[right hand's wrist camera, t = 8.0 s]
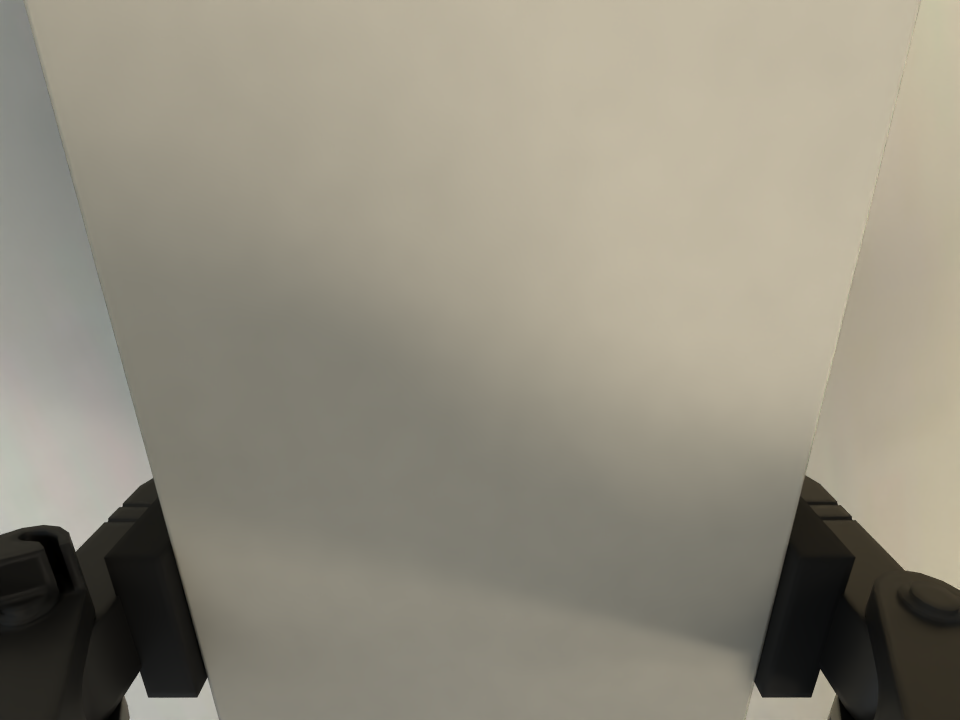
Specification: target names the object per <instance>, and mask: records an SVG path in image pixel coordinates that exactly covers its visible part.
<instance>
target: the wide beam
mask: <svg viewBox="0 0 960 720" xmlns="http://www.w3.org/2000/svg"><path fill="white" fill-rule="evenodd" d="M23 1H24V4H25V8H26V12H27V15H28V19H29V23H30V26H31V30H32V34H33V37H34V41H35V45H36V48H37V52H38V56H39V59H40V63H41V67H42V70H43V74H44V78H45V82H46V85H47V89H48V93H49V96H50V100H51V104H52V107H53V111H54V115H55V118H56V122H57V126H58V129H59V133H60V137H61V140H62V144H63V148H64V151H65V155H66V159H67V162H68V166H69V170H70V173H71V177H72V181H73V184H74V188H75V192H76V195H77V199H78V203H79V206H80V210H81V214H82V217H83V221H84V225H85V228H86V232H87V236H88V239H89V243H90V247H91V251H92V254H93V258H94V262H95V265H96V269H97V273H98V276H99V280H100V284H101V287H102V291H103V295H104V298H105V302H106V306H107V309H108V313H109V317H110V320H111V324H112V328H113V331H114V335H115V339H116V342H117V346H118V350H119V353H120V357H121V361H122V364H123V368H124V372H125V375H126V379H127V383H128V386H129V390H130V394H131V397H132V401H133V405H134V408H135V412H136V416H137V419H138V423H139V427H140V431H141V434H142V438H143V442H144V445H145V449H146V453H147V456H148V460H149V464H150V467H151V471H152V475H153V478H154V482H155V486H156V489H157V493H158V497H159V500H160V504H161V508H162V511H163V515H164V519H165V522H166V526H167V530H168V533H169V537H170V541H171V544H172V548H173V552H174V555H175V559H176V563H177V566H178V570H179V574H180V577H181V581H182V585H183V588H184V592H185V596H186V600H187V603H188V607H189V611H190V614H191V618H192V622H193V625H194V629H195V633H196V636H197V640H198V644H199V647H200V651H201V655H202V658H203V662H204V666H205V669H206V673H207V677H208V680H209V684H210V688H211V691H212V695H213V699H214V702H215V706H216V710H217V713H218V717H219V720H745V719H746V714H747V710H748V706H749V702H750V698H751V694H752V690H753V686H754V682H755V678H756V674H757V669H758V665H759V661H760V657H761V653H762V649H763V645H764V641H765V637H766V633H767V629H768V624H769V620H770V616H771V612H772V608H773V604H774V600H775V596H776V592H777V588H778V584H779V579H780V575H781V571H782V567H783V563H784V559H785V555H786V551H787V547H788V543H789V539H790V535H791V530H792V526H793V522H794V518H795V514H796V510H797V506H798V502H799V498H800V494H801V490H802V485H803V481H804V477H805V473H806V469H807V465H808V461H809V457H810V453H811V449H812V445H813V440H814V436H815V432H816V428H817V424H818V420H819V416H820V412H821V408H822V404H823V400H824V395H825V391H826V387H827V383H828V379H829V375H830V371H831V367H832V363H833V359H834V355H835V350H836V346H837V342H838V338H839V334H840V330H841V326H842V322H843V318H844V314H845V310H846V305H847V301H848V297H849V293H850V289H851V285H852V281H853V277H854V273H855V269H856V265H857V260H858V256H859V252H860V248H861V244H862V240H863V236H864V232H865V228H866V224H867V220H868V216H869V211H870V207H871V203H872V199H873V195H874V191H875V187H876V183H877V179H878V175H879V171H880V166H881V162H882V158H883V154H884V150H885V146H886V142H887V138H888V134H889V130H890V126H891V121H892V117H893V113H894V109H895V105H896V101H897V97H898V93H899V89H900V85H901V81H902V76H903V72H904V68H905V64H906V60H907V56H908V52H909V48H910V44H911V40H912V36H913V31H914V27H915V23H916V19H917V15H918V11H919V7H920V3H921V0H23Z"/></svg>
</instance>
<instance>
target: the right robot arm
mask: <svg viewBox="0 0 960 720" xmlns="http://www.w3.org/2000/svg"><path fill="white" fill-rule="evenodd" d="M820 669H821V671H822V672H823V674H824V675H825V677H826V679H827V680H828V682H829V683H830V685H831V686H832V688H833V689H834V691H835V693H836V696H835V699H834V702H833V705H832V708H831V711H830V714H829V717H828V720H960V590H958V589H956V588H955V587H953V586H951V585H949V584H947V583H945V582H944V581H941V580H939V579H936V578H933V577H930V576H927V575H924V574H922V573H917V572H911V571H905V570H904V569H903V568H902V567H901V566H900V565H899V564H898V563H897V562H896V561H895V560H894V559H893V558H892V557H891V556H890V555H889V554H888V553H887V552H886V551H885V550H884V549H883V548H882V547H881V546H880V545H879V544H878V543H877V542H876V541H875V540H874V539H873V538H872V537H871V536H870V535H869V534H868V533H867V531H866V530H865V529H864V528H863V527H862V526H861V525H860V524H859V523H858V522H857V521H856V520H852V516H851V515H850V514H849V513H848V512H847V511H846V510H845V509H844V508H843V507H842V506H841V505H838V504H837V501H836V500H835V499H834V498H833V497H832V496H831V495H830V494H829V493H828V492H827V491H826V490H825V489H824V488H823V487H822V486H821V485H820V484H819V483H817V482H816V481H814V480H812V479H811V478H809V477H807V476H806V475H805V477H804V481H803V485H802V490H801V494H800V498H799V502H798V506H797V510H796V514H795V518H794V522H793V526H792V530H791V535H790V539H789V543H788V547H787V551H786V555H785V559H784V563H783V567H782V571H781V575H780V579H779V584H778V588H777V592H776V596H775V600H774V604H773V608H772V612H771V616H770V620H769V624H768V629H767V633H766V637H765V641H764V645H763V649H762V653H761V657H760V661H759V665H758V669H757V674H756V678H755V684H756V686H757V688H758V690H759V692H760V694H761V696H762V697H812V693H813V690H814V687H815V684H816V681H817V678H818V675H819V671H820ZM139 671H140V673H141V676H142V679H143V682H144V686H145V689H146V692H147V695H148V698H176V697H198V695H199V693H200V691H201V689H202V687H203V685H204V683H205V681H206V679H207V673H206V669H205V666H204V662H203V658H202V655H201V651H200V647H199V644H198V640H197V636H196V633H195V629H194V625H193V622H192V618H191V614H190V611H189V607H188V603H187V600H186V596H185V592H184V588H183V585H182V581H181V577H180V574H179V570H178V566H177V563H176V559H175V555H174V552H173V548H172V544H171V541H170V537H169V533H168V530H167V526H166V522H165V519H164V515H163V511H162V508H161V504H160V500H159V497H158V493H157V489H156V486H155V482H154V478H153V479H151V480H149V481H148V482H146V483H144V484H143V485H141V486H140V487H139V488H138V489H137V490H136V491H135V492H134V493H133V494H132V495H131V496H130V497H129V498H128V499H127V500H126V501H125V502H124V503H123V507H119V508H118V509H117V510H116V511H115V512H114V513H113V514H112V515H111V516H110V517H109V518H108V522H104V523H103V524H102V526H101V527H100V528H99V529H98V530H97V531H96V532H95V533H94V534H93V535H92V536H91V537H90V538H89V539H88V540H87V541H86V542H85V543H84V544H83V545H82V546H81V547H80V548H79V549H78V550H77V551H76V552H75V549H74V546H73V543H72V540H71V537H70V534H69V532H67V531H66V530H64V529H62V528H61V527H58V526H48V525H40V526H33V527H26V528H21V529H18V530H15V531H12V532H8V533H5V534H2V535H0V720H129V718H130V716H129V711H128V705H127V702H126V699H125V696H124V695H125V693H126V692H127V690H128V689H129V687H130V686H131V684H132V682H133V681H134V679H135V678H136V676H137V675H138V673H139Z"/></svg>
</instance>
